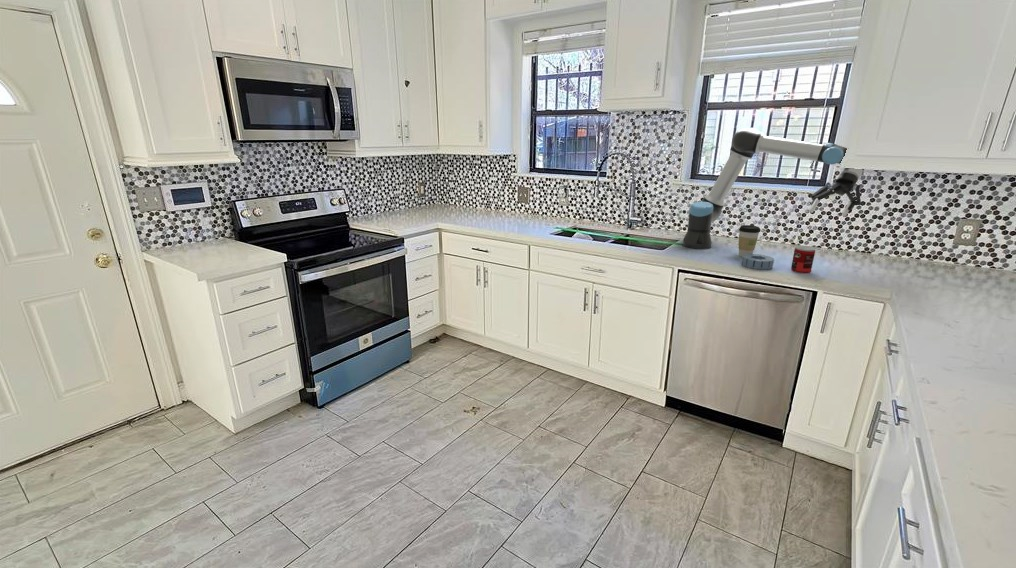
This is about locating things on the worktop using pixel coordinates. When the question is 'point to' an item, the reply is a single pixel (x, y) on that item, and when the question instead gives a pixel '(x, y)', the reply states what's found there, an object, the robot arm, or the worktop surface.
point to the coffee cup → (747, 239)
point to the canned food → (803, 259)
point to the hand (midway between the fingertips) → (826, 213)
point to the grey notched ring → (757, 261)
